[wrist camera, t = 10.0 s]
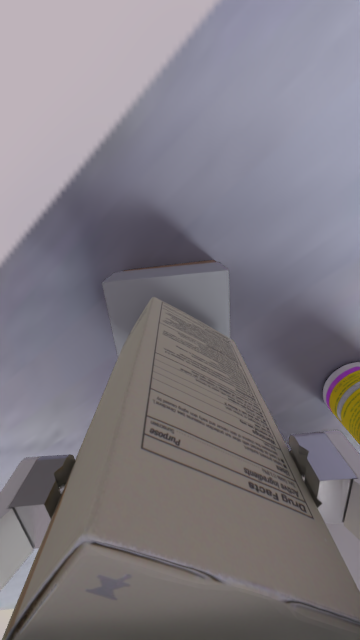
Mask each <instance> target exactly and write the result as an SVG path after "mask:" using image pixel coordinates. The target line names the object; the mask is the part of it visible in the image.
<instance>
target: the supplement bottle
mask: <svg viewBox="0 0 360 640" xmlns="http://www.w3.org/2000/svg"><path fill="white" fill-rule="evenodd" d="M323 399H324V402H325V404H326V405H327V407H328V408H329V409H330V410H331V412H332V413H333V414H334V415H335V416H336V417H337V419H338V420H339V421H340V422H341V423H342V424H343V426H344V427H345V428H346V429H347V430H348V431H349V433H350V434H351V435H352V436H353V437H354V438H355V440H356V441H357V442H358V443H359V444H360V362H354V363H350V364H347V365H344V366H342V367H340V368H339V369H337V370H336V371H334V372H333V373H332V374H331V375H330V376H329V378H328V379H327V381H326V382H325V385H324V388H323Z"/></svg>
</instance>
